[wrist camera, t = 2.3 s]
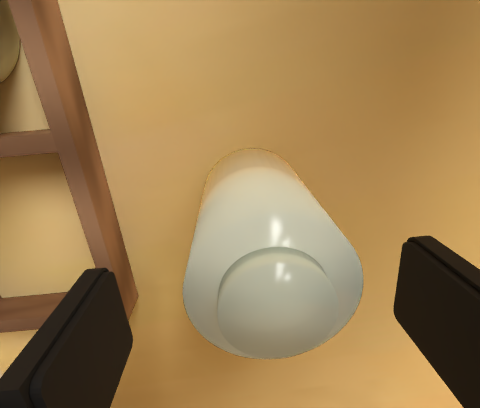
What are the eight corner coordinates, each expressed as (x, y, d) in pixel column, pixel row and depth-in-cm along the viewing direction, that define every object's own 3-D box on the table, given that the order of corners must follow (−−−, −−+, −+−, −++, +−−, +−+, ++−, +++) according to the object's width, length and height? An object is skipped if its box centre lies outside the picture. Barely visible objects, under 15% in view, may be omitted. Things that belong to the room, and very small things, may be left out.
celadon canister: (197, 153, 15) (160, 238, 6) (298, 143, 15) (387, 216, 7) (210, 241, 17) (193, 390, 8) (298, 233, 17) (367, 374, 9)
